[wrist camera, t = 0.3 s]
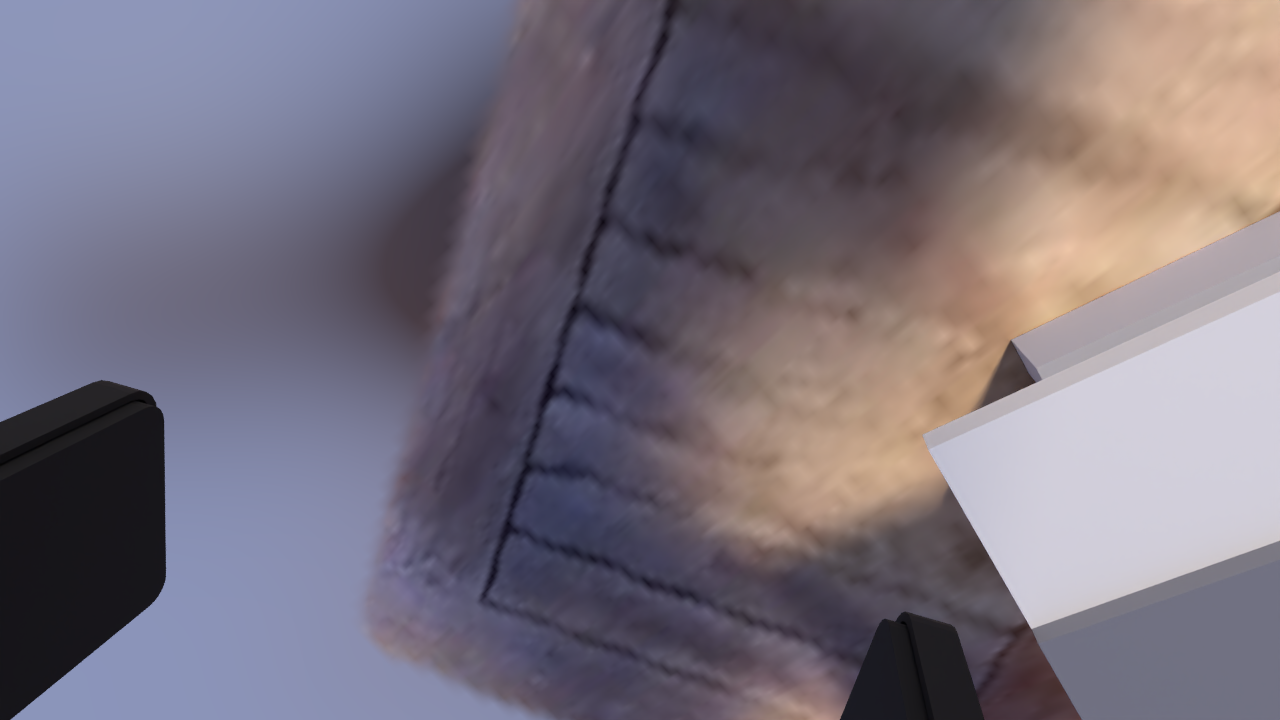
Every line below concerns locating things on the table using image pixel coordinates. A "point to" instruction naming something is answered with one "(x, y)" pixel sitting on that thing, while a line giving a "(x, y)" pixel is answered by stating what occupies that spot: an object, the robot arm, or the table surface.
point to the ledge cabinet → (1144, 488)
